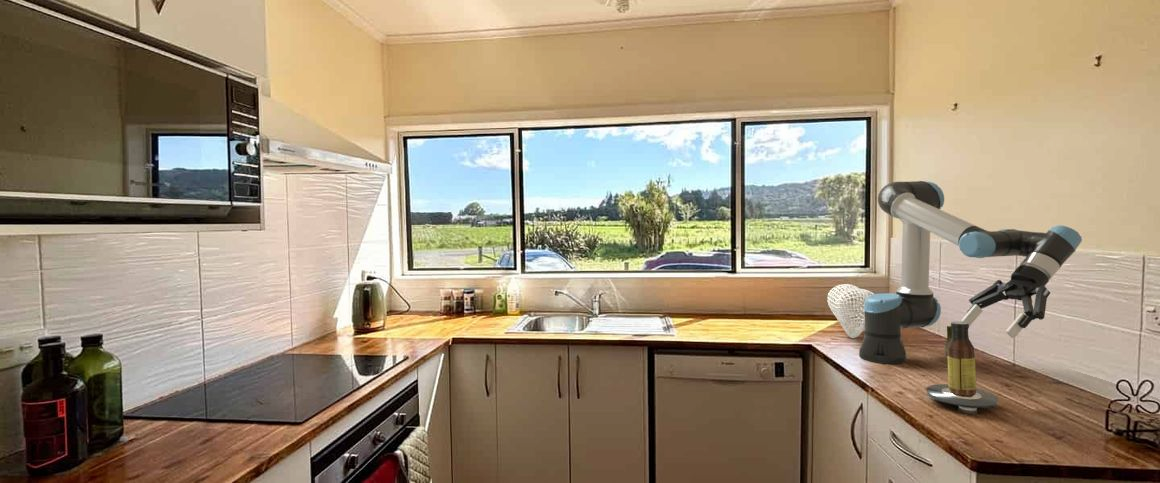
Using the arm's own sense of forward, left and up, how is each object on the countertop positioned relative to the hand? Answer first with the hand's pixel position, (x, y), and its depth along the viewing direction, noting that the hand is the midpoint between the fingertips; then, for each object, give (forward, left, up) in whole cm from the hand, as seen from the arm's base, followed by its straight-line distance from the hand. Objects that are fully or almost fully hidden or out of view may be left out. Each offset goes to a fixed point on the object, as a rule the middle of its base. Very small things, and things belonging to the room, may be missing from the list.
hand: (986, 329), depth 144 cm
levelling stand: (-1, -7, -21) cm, 22 cm away
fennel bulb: (-39, +28, -21) cm, 52 cm away
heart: (-76, +15, -21) cm, 80 cm away
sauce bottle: (-1, -7, -18) cm, 19 cm away
